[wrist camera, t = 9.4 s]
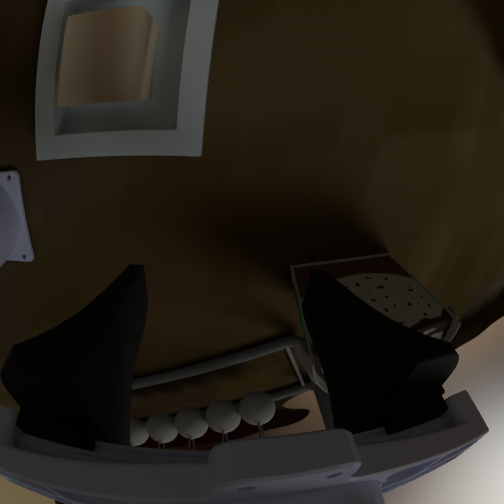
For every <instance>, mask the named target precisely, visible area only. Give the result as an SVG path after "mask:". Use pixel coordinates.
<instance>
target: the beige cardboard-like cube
mask: <svg viewBox="0 0 504 504" xmlns="http://www.w3.org/2000/svg"><path fill="white" fill-rule="evenodd" d="M159 28H160V26H159V25H158V24H157V22H156V21H155V20H154V19H153V17H152V16H151V15H150V14H149V13H148V11H147V10H146V9H145V8H144V7H143V5H139V6H128V7H119V8H111V9H104V10H97V11H91V12H86V13H81V14H76V15H71V16H68V18H67V23H66V29H65V35H64V41H63V48H62V56H61V65H60V76H59V90H58V107H63V106H72V105H81V104H92V103H105V102H123V101H137V100H147V99H151V92H152V81H153V72H154V63H155V55H156V48H157V41H158V34H159Z"/></svg>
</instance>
